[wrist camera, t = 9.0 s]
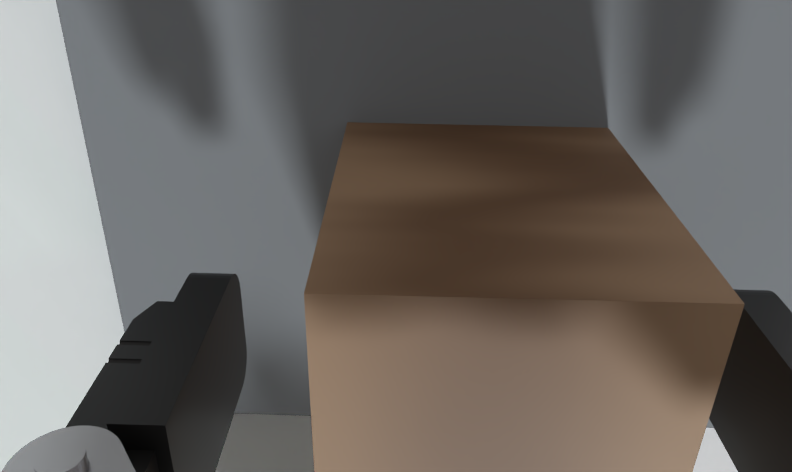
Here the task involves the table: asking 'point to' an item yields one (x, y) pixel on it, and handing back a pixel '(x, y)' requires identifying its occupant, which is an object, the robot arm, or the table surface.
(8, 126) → the table surface
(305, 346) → the mat
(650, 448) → the walnut block
